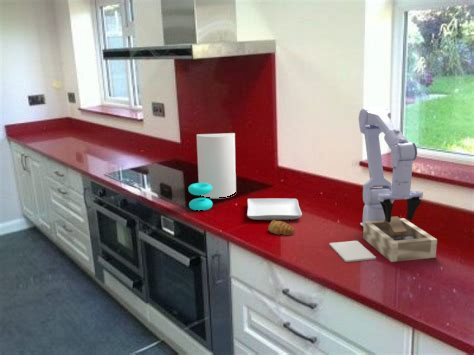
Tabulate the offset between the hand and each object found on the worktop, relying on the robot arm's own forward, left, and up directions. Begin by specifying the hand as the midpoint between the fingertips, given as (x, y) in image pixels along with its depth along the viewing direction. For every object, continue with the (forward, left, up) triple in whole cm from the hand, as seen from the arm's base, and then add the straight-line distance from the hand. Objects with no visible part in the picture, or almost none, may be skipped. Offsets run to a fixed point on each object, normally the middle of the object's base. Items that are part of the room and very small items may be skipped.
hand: (398, 220), depth 155 cm
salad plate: (-43, -31, -10) cm, 54 cm away
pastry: (-22, -34, -10) cm, 42 cm away
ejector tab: (0, 0, -6) cm, 6 cm away
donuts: (-57, -59, -10) cm, 82 cm away
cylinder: (-77, -49, -10) cm, 91 cm away
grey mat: (0, -16, -9) cm, 19 cm away
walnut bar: (-2, 0, -4) cm, 4 cm away
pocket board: (+1, 0, -9) cm, 9 cm away
